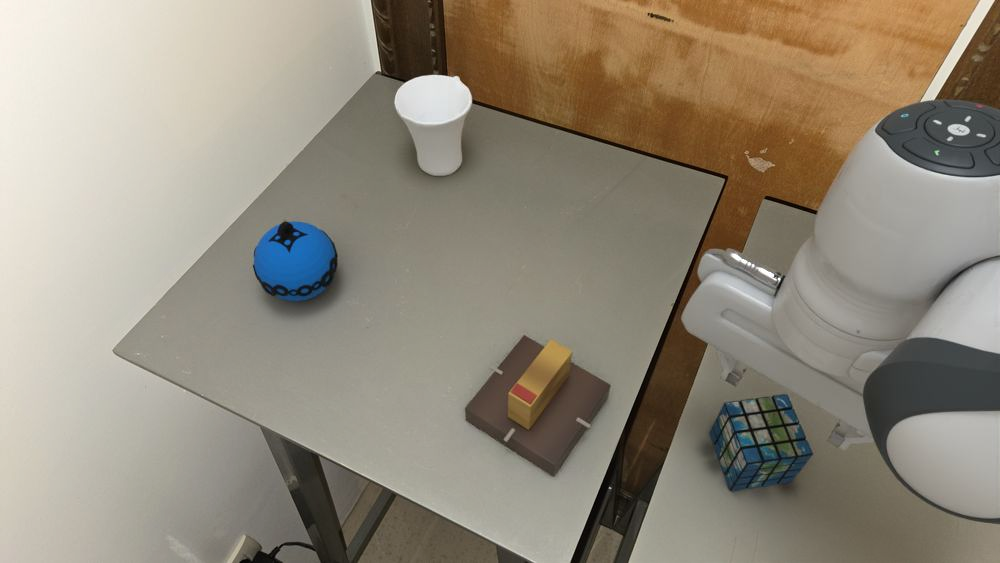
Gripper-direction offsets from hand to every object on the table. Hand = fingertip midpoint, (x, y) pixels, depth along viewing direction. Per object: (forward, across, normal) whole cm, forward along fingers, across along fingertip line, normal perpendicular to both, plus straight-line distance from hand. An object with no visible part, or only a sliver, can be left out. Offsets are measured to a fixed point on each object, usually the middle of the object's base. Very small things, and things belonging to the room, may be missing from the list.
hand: (783, 407), depth 62 cm
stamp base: (+10, -19, -8) cm, 23 cm away
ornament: (+10, -48, -11) cm, 50 cm away
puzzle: (+10, 0, 0) cm, 10 cm away
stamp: (+8, -19, -8) cm, 22 cm away
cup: (+10, -49, +13) cm, 51 cm away
